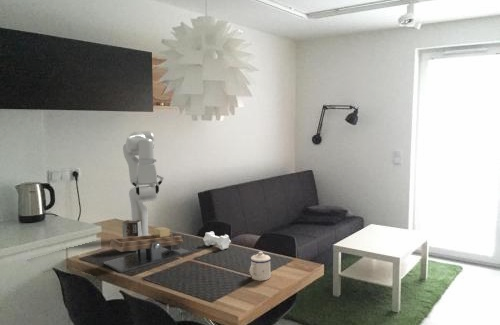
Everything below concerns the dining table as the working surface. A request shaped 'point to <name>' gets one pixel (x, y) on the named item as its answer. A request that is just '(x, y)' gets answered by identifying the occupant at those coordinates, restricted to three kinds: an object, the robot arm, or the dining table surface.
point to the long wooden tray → (146, 242)
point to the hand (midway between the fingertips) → (147, 194)
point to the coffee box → (132, 228)
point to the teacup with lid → (260, 267)
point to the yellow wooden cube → (161, 232)
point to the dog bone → (216, 240)
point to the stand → (145, 257)
